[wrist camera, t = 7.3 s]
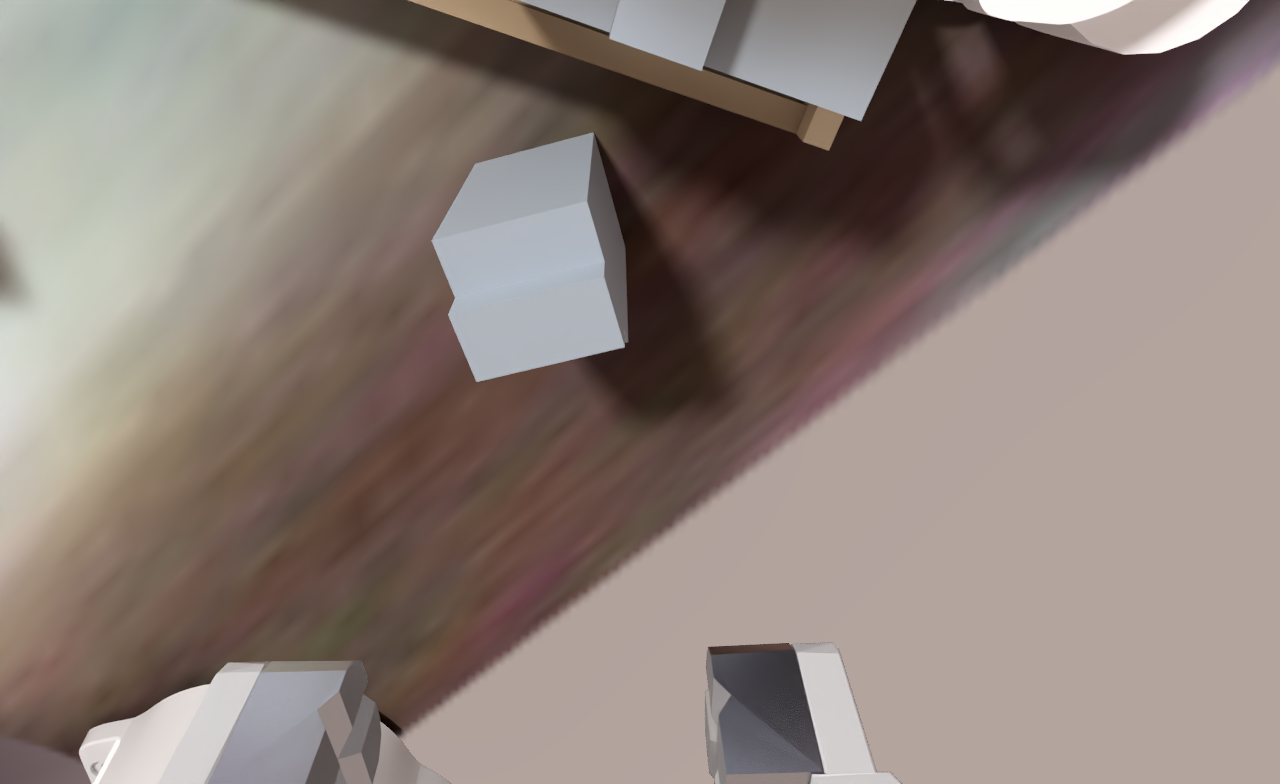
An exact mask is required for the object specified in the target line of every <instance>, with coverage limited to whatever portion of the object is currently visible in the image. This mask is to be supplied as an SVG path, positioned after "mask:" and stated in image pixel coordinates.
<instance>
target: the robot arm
mask: <svg viewBox="0 0 1280 784" xmlns="http://www.w3.org/2000/svg"><path fill="white" fill-rule="evenodd" d="M706 670H707V680H708V690H707V691H706V692H705V732H706V744H707V755H708V765H709V773H710V775H711V776H712V777H713V778H714V779H715V780H714V784H902V783H901V782H900V781H899V780H898V779H897V778H896V777H895V776H894V775H893V774H892V773H891V772H877V771H876V768H875V764H874V761H873V758H872V754H871V751H870V748H869V745H868V741H867V738H866V735H865V732H864V728H863V725H862V722H861V719H860V716H859V712H858V709H857V706H856V703H855V699H854V696H853V693H852V690H851V687H850V683H849V680H848V677H847V674H846V670H845V667H844V664H843V660H842V657H841V654H840V651H839V649H838V648H837V647H836V645H835V644H834V643H806V644H791V645H790V644H789V643H782V644H762V645H761V644H760V645H740V646H719V647H708V650H707V660H706ZM367 681H368V677H367V675H366V672H365V669H364V667H363V664H362V661H280V662H236V663H227V664H226V665H225V666H224V667H223V668H222V669H221V670H220V671H219V672H218V673H217V674H216V675H215V676H214V678H213V680H212V682H211V684H207V685H202V686H198V687H194V688H190V689H187V690H184V691H181V692H179V693H176V694H174V695H172V696H169V697H167V698H166V699H164V700H162V701H160V702H159V703H158V704H156V705H155V706H153V707H152V708H150V709H149V710H147V711H146V712H144V713H143V714H141V715H139V716H137V717H135V718H131V719H125V720H120V721H115V722H110V723H106V724H102V725H99V726H96V727H94V728H92V729H91V730H90V731H89V732H88V734H87V736H86V738H85V739H84V741H83V743H82V745H81V747H80V750H79V755H80V758H81V761H82V763H83V765H84V767H85V770H86V772H87V774H88V776H89V779H90V781H91V783H92V784H451V783H450V782H448V781H447V780H446V779H445V778H443V777H442V776H440V775H439V774H437V773H435V772H434V771H432V770H430V769H428V768H427V767H425V766H423V765H421V764H420V763H419V762H418V761H417V760H416V759H415V758H414V757H413V756H412V755H411V753H410V752H409V750H408V749H407V748H406V746H405V745H404V744H403V742H402V741H401V740H400V739H399V738H398V737H397V735H396V734H395V733H394V732H393V731H391V730H390V729H389V728H388V727H387V726H386V725H384V724H383V723H382V722H380V716H379V712H378V709H377V705H376V703H375V702H373V701H372V700H370V699H369V698H367V697H366V696H365V695H363V694H364V691H365V688H366V685H367Z"/></svg>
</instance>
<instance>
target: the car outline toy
mask: <svg viewBox="0 0 1280 784" xmlns="http://www.w3.org/2000/svg"><path fill="white" fill-rule="evenodd" d="M946 1H956V2H960V3H963V4H964V6H965V7H966V8H967V9H968V10H972V11H975V12H978V13H981V14H985V15H989V16H993V17H997V18H1000V19H1005V20H1009V21H1014V22H1015V23H1017V24H1019V25H1022V26H1025V27H1028V28H1031V29H1034V30H1037V31H1040V32H1043V33H1046V34H1050V35H1053V36H1057V37H1061V38H1064V39H1068V40H1072V41H1075V42H1079V43H1083V44H1086V45H1090V46H1094V47H1098V48H1101V49H1105V50H1109V51H1112V52H1116V53H1120V54H1123V55H1127V54H1148V53H1161V52H1164V51H1167V50H1170V49H1173V48H1175V47H1178V46H1181V45H1184V44H1186V43H1189V42H1192V41H1195V40H1197V39H1200V38H1201V37H1203V36H1204V35H1206V34H1207V33H1208V32H1210V31H1211V30H1213V29H1214V28H1216V27H1217V26H1219V25H1220V24H1222V23H1223V22H1225V21H1226V20H1228V19H1229V18H1231V17H1232V16H1234V15H1235V14H1237V13H1238V12H1239V11H1240V10H1241V9H1242V7H1243V6H1244V5H1245V4H1246V3H1247V2H1248V1H1249V0H946Z"/></svg>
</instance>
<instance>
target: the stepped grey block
mask: <svg viewBox="0 0 1280 784" xmlns="http://www.w3.org/2000/svg"><path fill="white" fill-rule="evenodd" d="M432 243H433V245H434V248H435V250H436V253H437V255H438V257H439V260H440V262H441V265H442V267H443V269H444V272H445V274H446V277H447V279H448V281H449V284H450V286H451V289H452V291H453V294H454V296H455V300H454V302H453V305H452V307H451V309H450V312H449V314H448V316H449V318H450V320H451V323H452V325H453V328H454V330H455V332H456V335H457V337H458V339H459V342H460V344H461V346H462V349H463V351H464V353H465V356H466V358H467V360H468V363H469V365H470V368H471V370H472V372H473V375H474V377H475V379H476V382H478V381H483V380H487V379H491V378H495V377H500V376H504V375H508V374H513V373H517V372H521V371H525V370H530V369H534V368H538V367H543V366H547V365H551V364H555V363H560V362H564V361H568V360H572V359H577V358H581V357H585V356H590V355H594V354H598V353H602V352H607V351H611V350H615V349H619V348H624V347H625V343H627V342H628V316H627V283H626V251H625V244H624V240H623V237H622V233H621V229H620V226H619V222H618V218H617V215H616V211H615V208H614V204H613V200H612V197H611V193H610V189H609V186H608V182H607V178H606V175H605V171H604V167H603V164H602V160H601V157H600V153H599V149H598V146H597V142H596V138H595V135H594V132H593V133H589V134H586V135H582V136H578V137H574V138H571V139H567V140H563V141H559V142H556V143H552V144H548V145H544V146H540V147H537V148H533V149H529V150H525V151H522V152H518V153H514V154H510V155H507V156H503V157H499V158H495V159H491V160H488V161H484V162H480V163H476V164H475V165H474V167H473V169H472V171H471V172H470V174H469V176H468V178H467V179H466V181H465V183H464V185H463V186H462V188H461V190H460V192H459V194H458V195H457V197H456V199H455V201H454V202H453V204H452V206H451V208H450V209H449V211H448V213H447V215H446V216H445V218H444V220H443V222H442V223H441V225H440V227H439V229H438V230H437V232H436V234H435V236H434V238H433V239H432Z"/></svg>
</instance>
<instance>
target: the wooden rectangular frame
mask: <svg viewBox="0 0 1280 784" xmlns="http://www.w3.org/2000/svg"><path fill="white" fill-rule="evenodd" d="M408 1H411V2H414V3H417V4H420V5H423V6H426V7H429V8H432V9H435V10H437V11H440V12H443V13H446V14H449V15H452V16H455V17H458V18H461V19H464V20H467V21H469V22H472V23H475V24H478V25H481V26H484V27H487V28H490V29H493V30H496V31H499V32H501V33H504V34H507V35H510V36H513V37H516V38H519V39H522V40H525V41H528V42H530V43H533V44H536V45H539V46H542V47H545V48H548V49H551V50H554V51H557V52H560V53H562V54H565V55H568V56H571V57H574V58H577V59H580V60H583V61H586V62H589V63H591V64H594V65H597V66H600V67H603V68H606V69H609V70H612V71H615V72H618V73H621V74H623V75H626V76H629V77H632V78H635V79H638V80H641V81H644V82H647V83H650V84H652V85H655V86H658V87H661V88H664V89H667V90H670V91H673V92H676V93H679V94H682V95H684V96H687V97H690V98H693V99H696V100H699V101H702V102H705V103H708V104H711V105H713V106H716V107H719V108H722V109H725V110H728V111H731V112H734V113H737V114H740V115H743V116H745V117H748V118H751V119H754V120H757V121H760V122H763V123H766V124H769V125H772V126H774V127H777V128H780V129H783V130H786V131H789V132H792V133H795V134H797V135H798V137H799V138H800V139H801V140H802V141H803V142H805V143H808V144H811V145H814V146H817V147H819V148H822V149H825V150H828V151H829V149H830V147H831V145H832V142H833V140H834V138H835V136H836V134H837V131H838V129H839V127H840V125H841V122H842V120H843V118H844V116H847V117H850V118H853V119H856V120H859V121H861V120H862V118H863V116H864V114H865V111H866V109H867V107H868V105H869V103H870V101H871V98H872V96H873V94H874V92H875V90H876V88H877V85H878V83H879V81H880V79H881V77H882V74H883V72H884V70H885V68H886V66H887V64H888V61H889V59H890V57H891V55H892V53H893V51H894V48H895V46H896V44H897V42H898V40H899V37H900V35H901V33H902V31H903V29H904V27H905V24H906V22H907V20H908V18H909V16H910V14H911V11H912V9H913V7H914V5H915V3H916V1H917V0H408Z"/></svg>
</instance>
